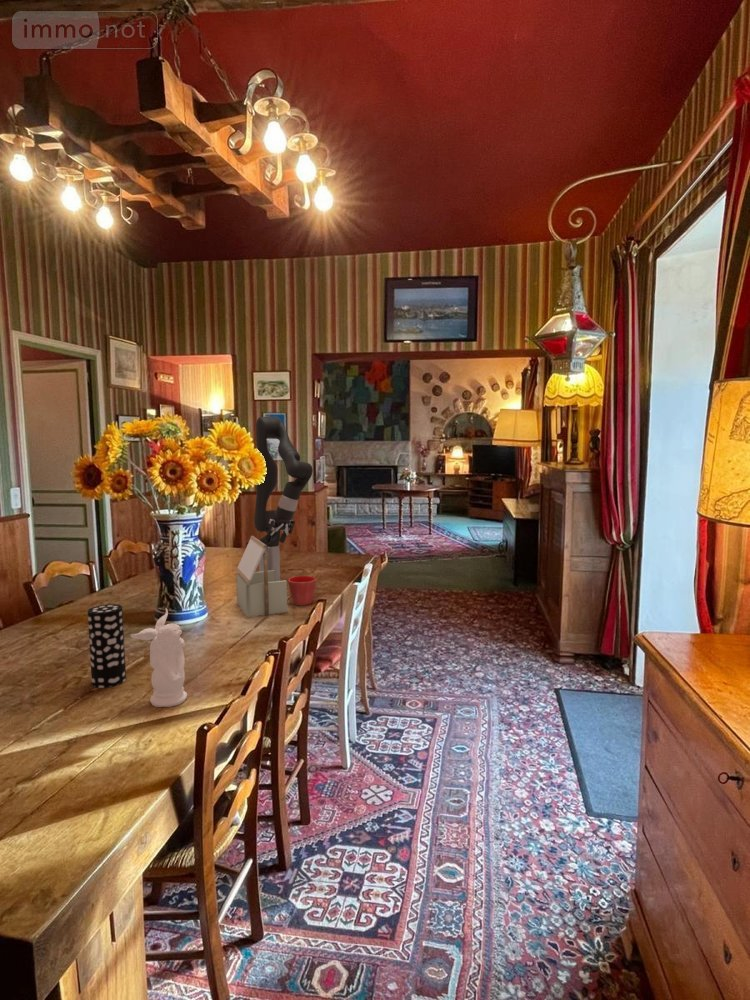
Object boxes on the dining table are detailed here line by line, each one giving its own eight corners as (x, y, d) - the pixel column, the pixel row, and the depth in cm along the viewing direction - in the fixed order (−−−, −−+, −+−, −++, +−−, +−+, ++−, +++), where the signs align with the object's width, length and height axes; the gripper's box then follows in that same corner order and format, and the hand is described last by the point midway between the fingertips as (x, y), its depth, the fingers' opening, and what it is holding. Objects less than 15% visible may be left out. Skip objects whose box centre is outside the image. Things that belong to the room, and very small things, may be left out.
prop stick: (264, 615, 207) (262, 552, 204) (268, 614, 207) (266, 552, 205) (265, 616, 205) (263, 553, 203) (269, 615, 206) (267, 553, 204)
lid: (238, 571, 223) (235, 570, 223) (253, 536, 224) (251, 535, 224) (250, 583, 202) (247, 583, 202) (267, 545, 203) (264, 544, 203)
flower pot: (314, 606, 218) (314, 582, 217) (286, 606, 218) (286, 582, 217) (317, 598, 228) (317, 575, 227) (291, 598, 229) (290, 575, 228)
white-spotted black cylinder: (102, 674, 154) (97, 604, 152) (131, 675, 154) (127, 604, 152) (85, 687, 146) (80, 613, 144) (116, 688, 145) (112, 613, 143)
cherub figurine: (186, 708, 135) (182, 619, 132) (130, 715, 131) (125, 625, 128) (188, 686, 146) (184, 604, 144) (137, 692, 143) (132, 609, 140)
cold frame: (237, 603, 222) (236, 573, 221) (274, 598, 229) (273, 570, 227) (247, 617, 204) (246, 585, 203) (287, 612, 210) (286, 581, 209)
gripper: (292, 504, 238) (280, 538, 241) (268, 502, 226) (256, 538, 229) (304, 511, 234) (292, 545, 237) (281, 510, 222) (268, 546, 225)
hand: (274, 542), depth 233 cm, fingers open, 8 cm apart
